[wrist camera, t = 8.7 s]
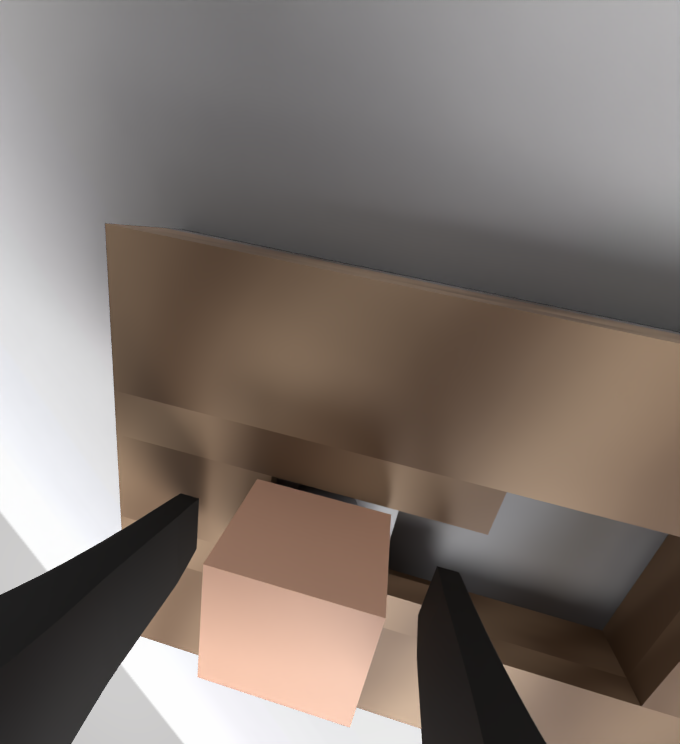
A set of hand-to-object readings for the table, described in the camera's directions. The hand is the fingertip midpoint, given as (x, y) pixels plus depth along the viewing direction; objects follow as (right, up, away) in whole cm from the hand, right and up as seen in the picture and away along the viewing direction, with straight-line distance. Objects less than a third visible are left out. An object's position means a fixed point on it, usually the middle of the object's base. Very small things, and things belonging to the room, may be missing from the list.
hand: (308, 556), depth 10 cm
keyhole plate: (+4, +1, +4) cm, 5 cm away
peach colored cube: (+1, +1, +3) cm, 3 cm away
